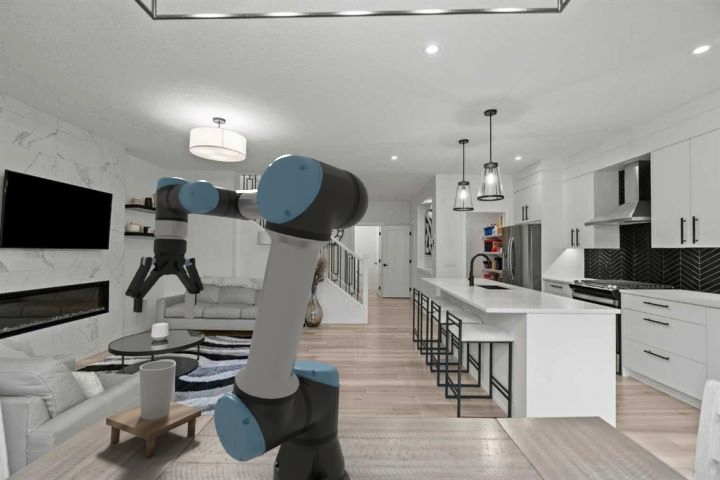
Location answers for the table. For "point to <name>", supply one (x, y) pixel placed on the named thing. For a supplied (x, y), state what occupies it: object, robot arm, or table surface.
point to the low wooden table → (152, 424)
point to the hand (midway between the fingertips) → (166, 322)
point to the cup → (156, 388)
